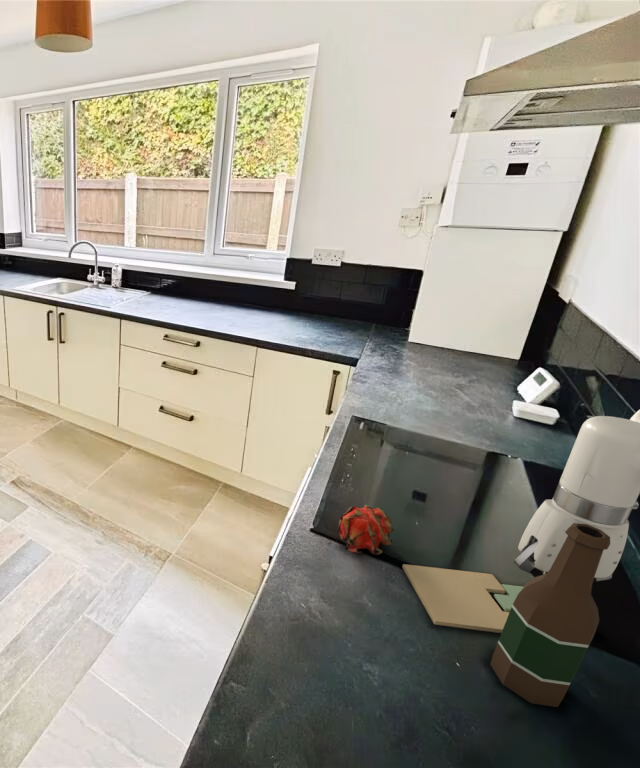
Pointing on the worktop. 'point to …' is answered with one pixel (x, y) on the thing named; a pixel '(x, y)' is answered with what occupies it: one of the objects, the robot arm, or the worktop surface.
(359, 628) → the worktop surface
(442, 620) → the sand mat
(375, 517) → the dragon fruit
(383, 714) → the worktop surface
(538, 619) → the beer bottle
